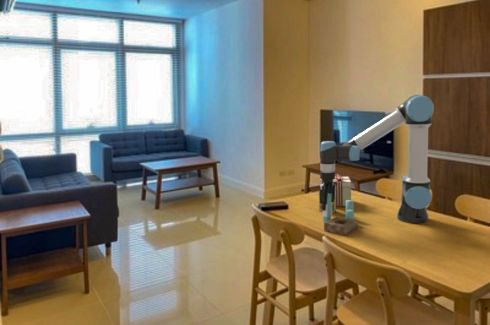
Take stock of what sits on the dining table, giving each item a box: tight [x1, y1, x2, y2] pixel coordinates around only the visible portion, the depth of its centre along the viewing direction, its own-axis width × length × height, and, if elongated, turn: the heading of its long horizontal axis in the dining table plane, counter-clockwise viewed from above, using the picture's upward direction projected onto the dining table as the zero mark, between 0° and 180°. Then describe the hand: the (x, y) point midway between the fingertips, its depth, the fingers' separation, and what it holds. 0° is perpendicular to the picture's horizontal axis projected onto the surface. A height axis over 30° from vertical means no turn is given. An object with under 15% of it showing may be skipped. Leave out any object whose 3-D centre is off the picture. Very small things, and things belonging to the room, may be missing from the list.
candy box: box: [318, 183, 337, 214], centre depth 237 cm, size 9×4×15 cm, turn 61°
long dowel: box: [322, 193, 332, 223], centre depth 218 cm, size 4×4×15 cm
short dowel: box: [345, 209, 355, 221], centre depth 214 cm, size 4×4×7 cm
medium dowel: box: [345, 199, 355, 211], centre depth 222 cm, size 4×4×10 cm
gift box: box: [319, 173, 353, 207], centre depth 252 cm, size 17×18×17 cm
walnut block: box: [323, 216, 359, 236], centre depth 206 cm, size 12×12×4 cm
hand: (327, 214), depth 218 cm, fingers closed on long dowel, 4 cm apart
